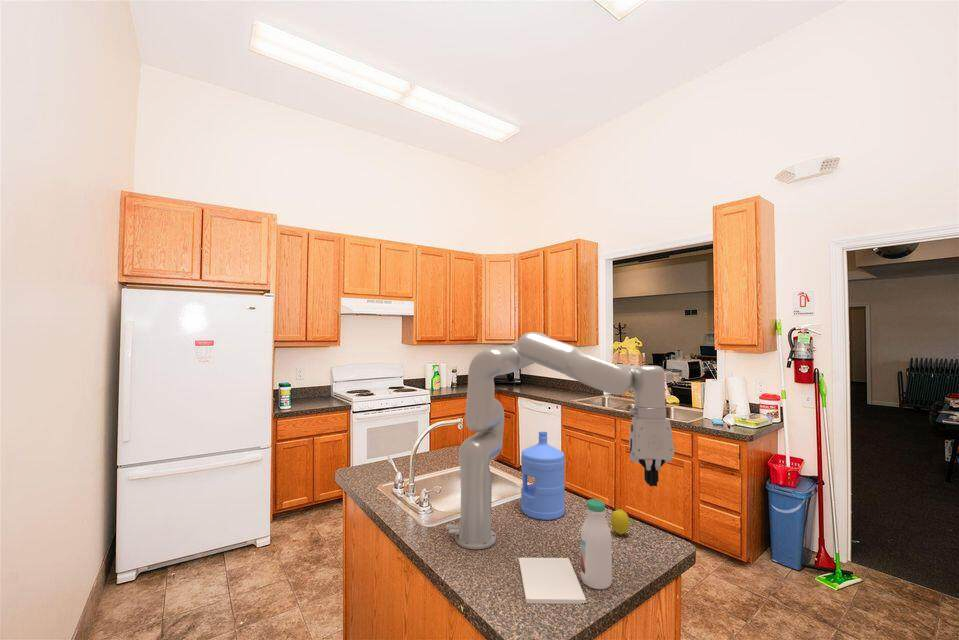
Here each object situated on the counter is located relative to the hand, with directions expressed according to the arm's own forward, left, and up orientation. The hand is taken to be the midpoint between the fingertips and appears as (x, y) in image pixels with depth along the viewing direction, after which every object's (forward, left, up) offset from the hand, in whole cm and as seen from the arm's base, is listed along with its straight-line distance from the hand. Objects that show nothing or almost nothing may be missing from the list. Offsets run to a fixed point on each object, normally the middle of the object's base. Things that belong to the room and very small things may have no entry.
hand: (651, 484), depth 105 cm
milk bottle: (-14, 0, -25) cm, 29 cm away
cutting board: (-26, 0, -25) cm, 36 cm away
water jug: (-21, +42, -25) cm, 53 cm away
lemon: (+1, +25, -25) cm, 35 cm away
